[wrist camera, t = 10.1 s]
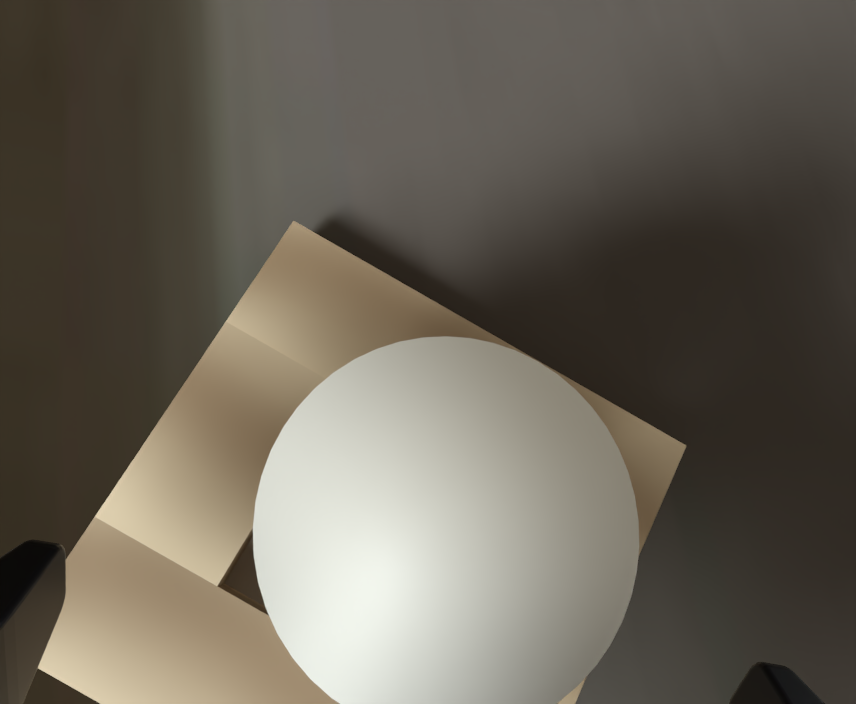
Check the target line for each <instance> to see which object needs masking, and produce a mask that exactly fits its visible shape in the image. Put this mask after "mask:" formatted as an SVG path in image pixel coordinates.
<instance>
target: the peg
mask: <svg viewBox="0 0 856 704" xmlns="http://www.w3.org/2000/svg"><path fill="white" fill-rule="evenodd" d="M253 551H254V561H255V567H256V573H257V579H258V584H259V587H260V591H261V594H262V597H263V600H264V604H265V607H266V610H267V612H268V614H269V617H270V619H271V621H272V623H273V625H274V627H275V630H276V632H277V634H278V636H279V637H280V639H281V641H282V642H283V644H284V645H285V647H286V648H287V650H288V652H289V653H290V655H291V656H292V658H293V659H294V660H295V662H296V663H297V664H298V665H299V666H300V667H301V669H302V670H303V671H304V672H305V673H306V675H307V676H308V677H309V678H310V679H311V680H312V681H313V682H314V683H315V684H316V685H317V686H318V687H320V688H321V689H322V690H323V691H324V692H325V693H326V694H327V695H328V696H330V697H331V698H332V699H334V700H335V701H337V702H338V703H340V704H556V703H558V702H559V701H560V700H562V699H563V698H564V697H565V696H566V695H568V694H569V693H570V692H571V691H572V690H574V689H575V688H576V687H577V686H578V685H579V684H580V683H581V682H582V681H583V680H584V679H585V678H586V676H587V675H588V674H589V673H590V672H591V671H592V670H593V669H594V668H595V666H596V665H597V664H598V662H599V661H600V659H601V658H602V656H603V655H604V654H605V652H606V651H607V649H608V648H609V646H610V645H611V643H612V641H613V639H614V637H615V635H616V633H617V631H618V629H619V627H620V625H621V623H622V621H623V619H624V616H625V613H626V610H627V607H628V605H629V602H630V599H631V596H632V591H633V587H634V582H635V578H636V573H637V565H638V554H639V520H638V514H637V507H636V501H635V495H634V491H633V488H632V484H631V480H630V477H629V473H628V470H627V468H626V465H625V463H624V460H623V458H622V456H621V453H620V451H619V448H618V447H617V445H616V443H615V441H614V439H613V438H612V436H611V434H610V432H609V430H608V429H607V427H606V426H605V424H604V423H603V421H602V420H601V419H600V417H599V416H598V415H597V413H596V412H595V410H594V409H593V408H592V407H591V405H590V404H589V403H588V402H587V401H586V400H585V399H584V398H583V397H582V396H581V395H580V394H579V393H578V392H577V390H576V389H574V388H573V387H572V386H571V385H570V384H568V383H567V382H566V381H565V380H564V379H563V378H561V377H560V376H559V375H558V374H556V373H555V372H553V371H552V370H550V369H549V368H547V367H546V366H544V365H543V364H541V363H540V362H538V361H536V360H534V359H532V358H530V357H528V356H526V355H524V354H522V353H520V352H518V351H516V350H513V349H510V348H507V347H504V346H501V345H498V344H495V343H492V342H487V341H482V340H477V339H472V338H463V337H450V336H441V337H422V338H417V339H411V340H406V341H400V342H397V343H394V344H390V345H387V346H384V347H381V348H378V349H375V350H373V351H371V352H369V353H367V354H365V355H362V356H360V357H358V358H356V359H354V360H352V361H351V362H349V363H348V364H346V365H345V366H343V367H341V368H340V369H338V370H337V371H335V372H334V373H332V374H331V375H330V376H329V377H328V378H326V379H325V380H324V381H323V382H322V383H320V384H319V385H318V386H317V387H316V388H315V389H314V390H313V391H312V392H311V393H310V394H309V395H308V396H307V397H306V398H305V399H304V400H303V401H302V403H301V404H300V405H299V406H298V407H297V408H296V410H295V411H294V413H293V414H292V415H291V417H290V418H289V420H288V421H287V422H286V424H285V425H284V427H283V428H282V430H281V432H280V434H279V436H278V438H277V440H276V442H275V443H274V445H273V447H272V449H271V451H270V454H269V456H268V459H267V462H266V465H265V467H264V470H263V473H262V475H261V479H260V484H259V488H258V492H257V497H256V501H255V511H254V521H253Z"/></svg>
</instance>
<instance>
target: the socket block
mask: <svg viewBox="0 0 856 704" xmlns="http://www.w3.org/2000/svg"><path fill="white" fill-rule="evenodd" d="M441 336H450V337H463V338H472V339H477V340H482V341H487V342H492V343H495V344H498V345H501V346H504V347H507V348H510V349H513V350H516V351H518V352H520V353H522V354H524V355H526V356H528V357H530V358H532V357H531V356H529V355H527V354H526V353H524V352H522V351H520V350H519V349H517V348H515V347H513V346H512V345H510V344H508V343H506V342H505V341H503V340H501V339H499V338H498V337H496V336H494V335H492V334H491V333H489V332H487V331H485V330H484V329H482V328H480V327H478V326H477V325H475V324H473V323H471V322H470V321H468V320H466V319H464V318H463V317H461V316H459V315H457V314H456V313H454V312H452V311H450V310H449V309H447V308H445V307H443V306H442V305H440V304H438V303H436V302H435V301H433V300H431V299H429V298H428V297H426V296H424V295H422V294H421V293H419V292H417V291H415V290H414V289H412V288H410V287H408V286H407V285H405V284H403V283H401V282H400V281H398V280H396V279H395V278H393V277H391V276H389V275H388V274H386V273H384V272H382V271H381V270H379V269H377V268H375V267H374V266H372V265H370V264H368V263H367V262H365V261H363V260H361V259H360V258H358V257H356V256H354V255H353V254H351V253H349V252H347V251H346V250H344V249H342V248H340V247H339V246H337V245H335V244H333V243H332V242H330V241H328V240H326V239H325V238H323V237H321V236H319V235H318V234H316V233H314V232H312V231H311V230H309V229H307V228H305V227H304V226H302V225H300V224H298V223H297V222H295V221H293V222H292V224H291V225H290V227H289V228H288V230H287V231H286V233H285V234H284V236H283V237H282V239H281V240H280V242H279V243H278V245H277V246H276V248H275V249H274V251H273V252H272V254H271V255H270V257H269V258H268V260H267V261H266V263H265V264H264V266H263V267H262V269H261V270H260V272H259V273H258V275H257V276H256V278H255V279H254V281H253V282H252V284H251V285H250V286H249V288H248V289H247V291H246V292H245V294H244V295H243V297H242V298H241V300H240V301H239V303H238V304H237V306H236V307H235V309H234V310H233V312H232V313H231V315H230V316H229V318H228V319H227V321H226V322H225V324H224V325H223V327H222V328H221V330H220V331H219V333H218V334H217V336H216V337H215V339H214V340H213V342H212V343H211V345H210V346H209V348H208V349H207V351H206V352H205V354H204V355H203V357H202V358H201V360H200V361H199V362H198V364H197V365H196V367H195V368H194V370H193V371H192V373H191V374H190V376H189V377H188V379H187V380H186V382H185V383H184V385H183V386H182V388H181V389H180V391H179V392H178V394H177V395H176V397H175V398H174V400H173V401H172V403H171V404H170V406H169V407H168V409H167V410H166V412H165V413H164V415H163V416H162V418H161V419H160V421H159V422H158V424H157V425H156V427H155V428H154V430H153V431H152V433H151V434H150V435H149V437H148V438H147V440H146V441H145V443H144V444H143V446H142V447H141V449H140V450H139V452H138V453H137V455H136V456H135V458H134V459H133V461H132V462H131V464H130V465H129V467H128V468H127V470H126V471H125V473H124V474H123V476H122V477H121V479H120V480H119V482H118V483H117V485H116V486H115V488H114V489H113V491H112V492H111V494H110V495H109V497H108V498H107V500H106V501H105V503H104V504H103V506H102V507H101V509H100V510H99V511H98V513H97V514H96V516H95V517H94V519H93V520H92V522H91V523H90V525H89V526H88V528H87V529H86V531H85V532H84V534H83V535H82V537H81V538H80V540H79V541H78V543H77V544H76V546H75V547H74V549H73V550H72V552H71V553H70V555H69V556H68V558H67V559H66V594H65V600H64V604H63V607H62V610H61V613H60V615H59V618H58V620H57V622H56V625H55V627H54V630H53V632H52V634H51V637H50V639H49V642H48V644H47V647H46V649H45V651H44V654H43V656H42V659H41V661H40V663H39V666H38V668H39V669H40V670H42V671H44V672H46V673H47V674H49V675H51V676H53V677H55V678H56V679H58V680H60V681H62V682H63V683H65V684H67V685H69V686H70V687H72V688H74V689H76V690H77V691H79V692H81V693H83V694H85V695H86V696H88V697H90V698H92V699H93V700H95V701H97V702H99V703H100V704H340V703H338V702H337V701H335V700H334V699H332V698H331V697H330V696H328V695H327V694H326V693H325V692H324V691H323V690H322V689H321V688H320V687H318V686H317V685H316V684H315V683H314V682H313V681H312V680H311V679H310V678H309V677H308V676H307V675H306V673H305V672H304V671H303V670H302V669H301V667H300V666H299V665H298V664H297V663H296V662H295V660H294V659H293V658H292V656H291V655H290V653H289V652H288V650H287V648H286V647H285V645H284V644H283V642H282V641H281V639H280V637H279V636H278V634H277V632H276V630H275V627H274V625H273V623H272V621H271V619H270V617H269V614H268V612H267V610H266V607H265V604H264V600H263V597H262V594H261V591H260V587H259V584H258V579H257V573H256V567H255V561H254V551H253V521H254V511H255V501H256V497H257V492H258V488H259V484H260V479H261V475H262V473H263V470H264V467H265V465H266V462H267V459H268V456H269V454H270V451H271V449H272V447H273V445H274V443H275V442H276V440H277V438H278V436H279V434H280V432H281V430H282V428H283V427H284V425H285V424H286V422H287V421H288V420H289V418H290V417H291V415H292V414H293V413H294V411H295V410H296V408H297V407H298V406H299V405H300V404H301V403H302V401H303V400H304V399H305V398H306V397H307V396H308V395H309V394H310V393H311V392H312V391H313V390H314V389H315V388H316V387H317V386H318V385H319V384H320V383H322V382H323V381H324V380H325V379H326V378H328V377H329V376H330V375H331V374H332V373H334V372H335V371H337V370H338V369H340V368H341V367H343V366H345V365H346V364H348V363H349V362H351V361H352V360H354V359H356V358H358V357H360V356H362V355H365V354H367V353H369V352H371V351H373V350H375V349H378V348H381V347H384V346H387V345H390V344H394V343H397V342H400V341H406V340H411V339H417V338H422V337H441ZM532 359H534V358H532ZM534 360H536V359H534ZM536 361H538V360H536ZM538 362H539V361H538ZM540 363H541V362H540ZM541 364H543V363H541ZM543 365H544V366H546V365H545V364H543ZM546 367H547V368H549V369H550V370H552V371H553V372H555V373H556V374H558V375H559V376H560V377H561V378H563V379H564V380H565V381H566V382H567V383H568V384H570V385H571V386H572V387H573V388H574V389H576V390H577V392H578V393H579V394H580V395H581V396H582V397H583V398H584V399H585V400H586V401H587V402H588V403H589V404H590V405H591V407H592V408H593V409H594V410H595V412H596V413H597V415H598V416H599V417H600V419H601V420H602V421H603V423H604V424H605V426H606V427H607V429H608V430H609V432H610V434H611V436H612V438H613V439H614V441H615V443H616V445H617V447H618V448H619V451H620V453H621V456H622V458H623V460H624V463H625V465H626V468H627V470H628V473H629V477H630V480H631V484H632V488H633V491H634V495H635V501H636V507H637V514H638V520H639V554H640V552H641V550H642V548H643V545H644V543H645V541H646V538H647V536H648V534H649V531H650V529H651V527H652V524H653V522H654V520H655V517H656V515H657V513H658V511H659V508H660V506H661V504H662V501H663V499H664V497H665V494H666V492H667V490H668V487H669V485H670V483H671V480H672V478H673V476H674V474H675V471H676V469H677V467H678V464H679V462H680V460H681V457H682V455H683V453H684V450H685V448H686V445H684V444H683V443H681V442H679V441H677V440H676V439H674V438H672V437H670V436H669V435H667V434H665V433H663V432H662V431H660V430H658V429H657V428H655V427H653V426H651V425H650V424H648V423H646V422H644V421H643V420H641V419H639V418H637V417H636V416H634V415H632V414H630V413H629V412H627V411H625V410H623V409H622V408H620V407H618V406H616V405H615V404H613V403H611V402H609V401H608V400H606V399H604V398H602V397H601V396H599V395H597V394H595V393H594V392H592V391H590V390H588V389H587V388H585V387H583V386H581V385H580V384H578V383H576V382H574V381H573V380H571V379H569V378H567V377H566V376H564V375H562V374H560V373H559V372H557V371H555V370H553V369H552V368H550V367H548V366H546ZM639 554H638V557H639ZM586 677H587V676H586ZM585 679H586V678H585ZM585 679H584V680H583V681H582V682H581V683H580V684H579V685H578V686H577V687H576V688H575V689H574V690H572V691H571V692H570V693H569V694H568V695H566V696H565V697H564V698H563V699H562V700H560V701H559V702H558V703H556V704H575V702H576V700H577V698H578V695H579V693H580V691H581V689H582V686H583V684H584V682H585Z"/></svg>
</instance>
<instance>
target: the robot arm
mask: <svg viewBox="0 0 856 704" xmlns="http://www.w3.org/2000/svg"><path fill="white" fill-rule="evenodd" d="M65 594H66V555H65V549H64V547H63V546H62V545H60V544H57V543H51V542H45V541H39V540H29V541H26V542H24V543H22V544H20V545H19V546H17V547H16V548H14V549H13V550H11V551H10V552H8V553H7V554H5V555H4V556H2V557H1V558H0V704H23V702H24V700H25V697H26V695H27V692H28V690H29V687H30V685H31V683H32V680H33V678H34V675H35V673H36V671H37V668H38V666H39V663H40V661H41V659H42V656H43V654H44V651H45V649H46V647H47V644H48V642H49V639H50V637H51V634H52V632H53V630H54V627H55V625H56V622H57V620H58V618H59V615H60V613H61V610H62V607H63V604H64V600H65ZM729 704H825V703H824V702H823V701H822V700H821V699H820V698H819V697H818V696H817V695H816V694H815V693H814V692H813V691H812V690H811V689H810V688H809V687H808V686H807V685H806V684H805V683H804V682H803V681H802V680H801V679H800V678H799V677H798V676H797V675H796V674H795V673H794V672H793V671H792V670H791V669H789V668H787V667H785V666H782V665H776V664H770V663H764V662H758V663H756V664H754V665H753V666H752V667H751V668H750V670H749V671H748V673H747V674H746V676H745V677H744V679H743V680H742V682H741V683H740V685H739V686H738V688H737V690H736V691H735V693H734V694H733V696H732V697H731V699H730V703H729Z"/></svg>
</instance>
